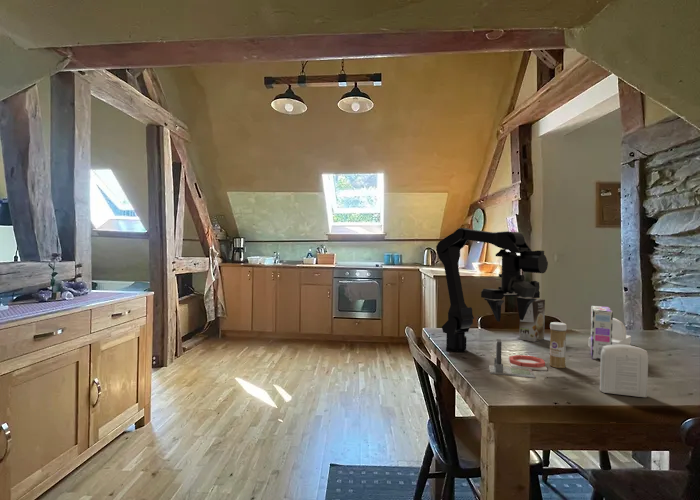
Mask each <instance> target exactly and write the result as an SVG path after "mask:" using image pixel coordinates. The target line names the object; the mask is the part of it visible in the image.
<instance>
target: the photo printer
mask: <svg viewBox="0 0 700 500" xmlns="http://www.w3.org/2000/svg"><path fill="white" fill-rule="evenodd" d="M599 366H600V370H599V391H600V392H602V393H604V394H611V395H612V394H614V395H620V396H621V395H622V396H632V397H638V398H647V397H648V378H649V353H648V351H647V350H646V349H643V348H641V347H639V346H634V345H624V344H614V345H607V346H603V347H602V350H601V360H600V365H599Z"/></svg>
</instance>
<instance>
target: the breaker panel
mask: <svg viewBox="0 0 700 500" xmlns="http://www.w3.org/2000/svg"><path fill="white" fill-rule="evenodd" d="M493 359H494V360H493V362H494V363H493V365H490V364H489V365H488V369H489V370H488V371H489V374H491V375H500V376H512V377H521V378H523V377H525V378H533V379H535V378H536V375H535V373H534V371H533V369H526V368H514V367H511V366H504V364H503V363H501V364H500V363H496V357H494V358H493ZM501 362H502V358H501Z"/></svg>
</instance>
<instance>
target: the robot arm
mask: <svg viewBox="0 0 700 500" xmlns="http://www.w3.org/2000/svg"><path fill="white" fill-rule="evenodd" d="M468 241H473V242H480V243H485V244H490V245H493V246H495V247H497V248H500V249H499V251H498V252H497V253H495V257H501V273H498V278H500V279H501V280H500V281H501V285H500V286H498V287H497V288H483V289H482V290H481V292H480V297H481V299H482V298H483V299H484V301H486V302H487V304H488V306H489V308H490V309H491V311H492V313H493V315H494V316H493V317H494V318H495V320H496V322H501V318H502V317H501V316H502V314H501V313H502V305H503V303H504V302H505V300H503V299H504V298H505V297H516V304H517V305H516V306H517V310H518V318H519V321H520V320H523V319H524V317H525V314H526V312H527V309H528V307H529V305H530V304H531V303H532V302H533V301H536V300H537V299H541V298H540V297H541V295H540V294H541V293H540V288H541V287H540V282H539V281H537V280H531V281H526V280H525V275H524V274H522V272H523V273H533V274H545V273H546V272H547V270H548V267H549V262H548V259H547V256H546V255H545V250H532V249H531V248H530V247H529V245H528V243H527V242H526V240H525V236H524V235H523V233H521V232H519V231H506V230H505V231H496V232H492V231H485V230H480V229H479V230H477V229H471V228H467V227H466V228H465V227H459V228H457V229H456V230H455V231H454V232H453V233H450V234H448V235H447V236H446V237H444V238H443V239H442V240H440V241H438V242H437V245H436V246H435V250H436V253H437V257H438V259H439V261H440V262H441V264H442V265H443V267H444V268H443V269H444V273H445V279H446V286H447V291H448V292H447V293H448V296H449V297H448V298H449V303H450V306H449V308H448V311H447V321H446V322H445V323H444V324H443V325H442V326H441V329H442V333H443V334H446V338H445V339H446V344H445V345H446V347H445V351H447V352H458V353H459V352H460V353H466V350H467V338H468V337H467V336H465V335H466V333H469V331H470V328H471V326H472V325H473V324H474V319H475V316H474V315H473V307H472V306H469V307H468V305H467V304H466V303H465V298H464V297H465V296H464V291H463V286H462V280H461V275H460V268H459V260H460V257H461V250H462V249H463V248H464V247H465V246H466V244H467V242H468ZM518 254H519V255H518Z"/></svg>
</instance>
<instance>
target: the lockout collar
mask: <svg viewBox="0 0 700 500" xmlns="http://www.w3.org/2000/svg"><path fill="white" fill-rule="evenodd" d="M507 359H508V362H509V364H510V366H509V367H514V368H526V369H532V371H533V370H535V371H548V368H547V366H546V361H545V360H544V359H543V358H540V357H537V356H532V355H523V354H516V355H509V356H508V357H507Z"/></svg>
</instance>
